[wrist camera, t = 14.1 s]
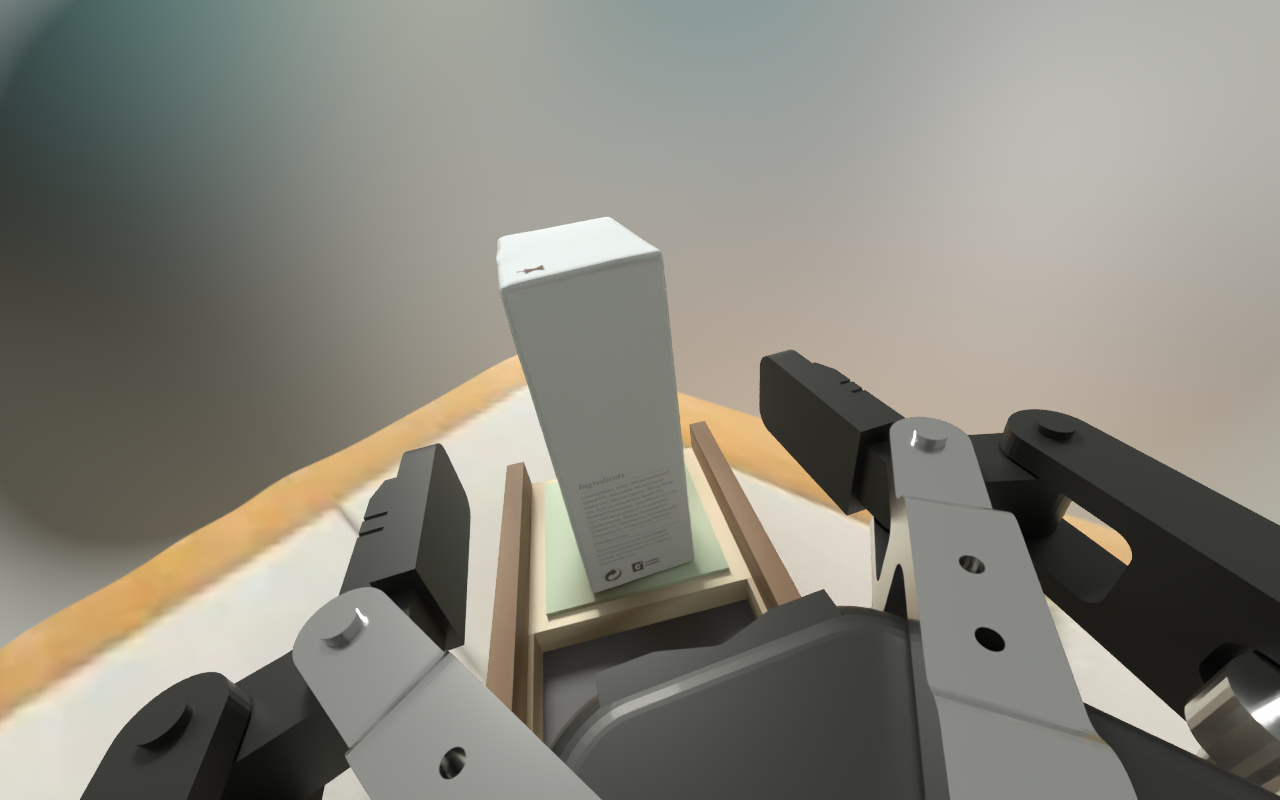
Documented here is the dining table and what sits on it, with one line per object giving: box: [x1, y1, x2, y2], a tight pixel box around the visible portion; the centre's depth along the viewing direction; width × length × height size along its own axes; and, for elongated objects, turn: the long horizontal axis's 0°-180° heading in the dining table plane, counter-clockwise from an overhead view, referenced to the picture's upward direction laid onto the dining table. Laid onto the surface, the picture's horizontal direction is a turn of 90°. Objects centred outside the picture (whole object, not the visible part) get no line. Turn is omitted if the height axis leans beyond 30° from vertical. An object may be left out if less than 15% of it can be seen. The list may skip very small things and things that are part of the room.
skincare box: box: [496, 217, 694, 593], centre depth 16 cm, size 6×4×12 cm
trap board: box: [486, 421, 801, 747], centre depth 16 cm, size 10×18×3 cm, turn 11°
